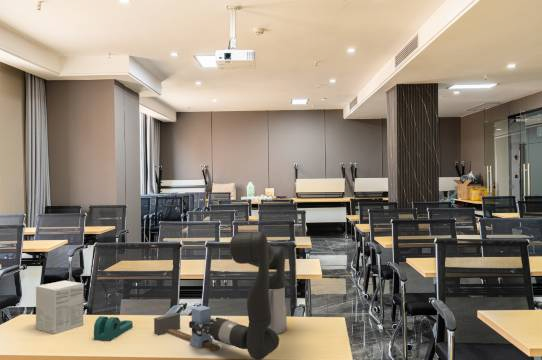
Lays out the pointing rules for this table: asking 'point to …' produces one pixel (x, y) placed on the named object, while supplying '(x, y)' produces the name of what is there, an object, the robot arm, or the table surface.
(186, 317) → the table surface
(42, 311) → the supplement box
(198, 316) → the block
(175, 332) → the rail
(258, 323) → the robot arm
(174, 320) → the stop block
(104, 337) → the bracket
